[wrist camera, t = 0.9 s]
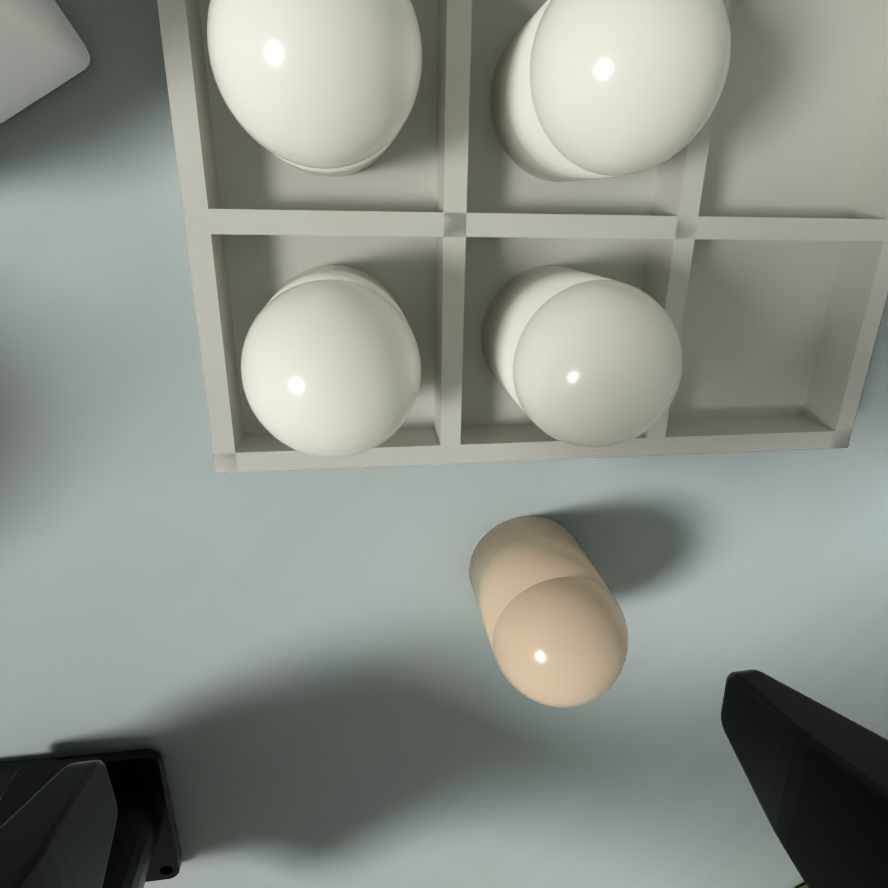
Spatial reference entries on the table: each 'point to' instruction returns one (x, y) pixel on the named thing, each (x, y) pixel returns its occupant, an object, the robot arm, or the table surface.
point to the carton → (568, 237)
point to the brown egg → (547, 613)
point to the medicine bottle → (35, 52)
